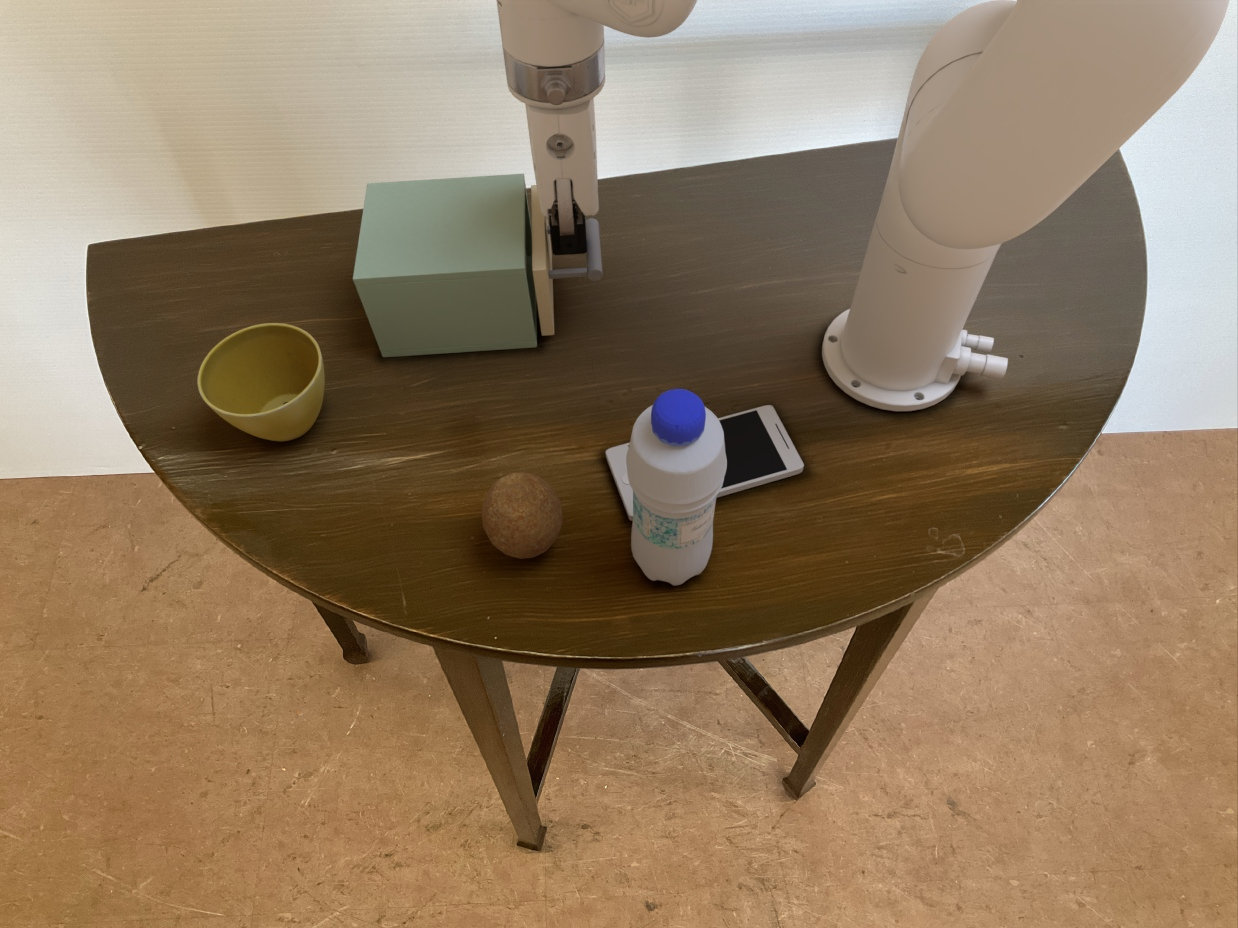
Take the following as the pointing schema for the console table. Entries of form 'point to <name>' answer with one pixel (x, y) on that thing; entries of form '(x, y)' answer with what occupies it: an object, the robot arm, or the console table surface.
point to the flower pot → (265, 380)
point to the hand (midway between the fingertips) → (569, 248)
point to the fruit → (522, 515)
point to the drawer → (543, 262)
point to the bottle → (675, 485)
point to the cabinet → (447, 265)
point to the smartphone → (734, 454)
